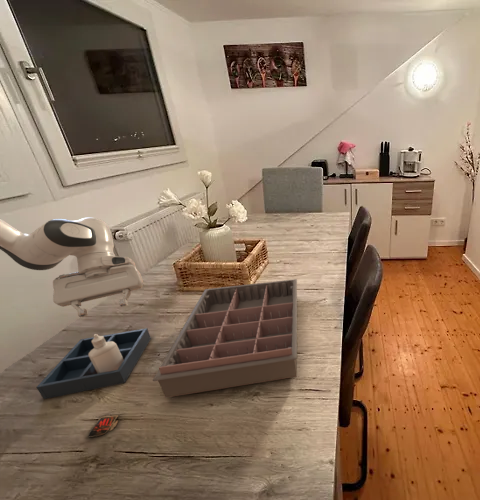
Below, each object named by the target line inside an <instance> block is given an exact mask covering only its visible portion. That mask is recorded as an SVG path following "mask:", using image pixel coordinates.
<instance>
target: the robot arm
mask: <svg viewBox="0 0 480 500" xmlns="http://www.w3.org/2000/svg"><path fill="white" fill-rule="evenodd" d="M112 233H113V232H112V231H111V228H110V226H109V225H108V223H107V222H105V221H104V220H103V219H99V218H96V217H82V218H80V219H77V220H76V219H75V220H70V219H65V218H54V219H50V220H48V221H47V222H45V223H44V224H42V225H41V226H39V227H37V228H36V229H35V230H34V231H32V232H31V233H30V234H28V233H25V232H22V231H21V230H18V229H17V228H16V227H14V226H13V225H11V224H9V223H8V222H6V221H5V220H4V219H2V218H0V251H2V252H4V253H5V254H6V255H7V256H8V257H9V258H11V259H12V260H13V261H14V262H15V263H16V264H18V265H20V266H21V267H23V268H26V269H28V270H33V271H46V270H50V269H53V268H56V267H57V266H58V265H59V264H60V263H61V262H62V261H64V260H65V259H66V258H68V257H69V256H73V257H76V262H77V270H78V271H74V272H70V273H66V274H65V273H63V274H60V275H58V276H57V277H56V278H54V279H53V280H52V288H53V294H52V301H53V304H55V305H57V306H59V307H62V308H64V307H68V306H71V307H72V308H73V309H75V310H76V311H77V316H78V317H79V318H83V317H87V316H88V309H85V308H81V306H82V303H86V302H89V301H93V300H94V301H95V300H97V299H98V300H99V299H102V298H106V297H111V296H115V295H119V294H123V297H122V299H118V301H119V307H120V308H121V307H126V306H128V305H129V303H128V300H129V298H130V296H131V294H132V293H131V292H132V291H136V290H141V289H142V288H143V287H144V280H143V277H142V274H141V272H140V271H139V270H138V268H137V265H136V263H135V261H134V260H133V259H131V258H130V257H129V256H116V254H115V252H114V247H115V244H114V238H113V234H112Z"/></svg>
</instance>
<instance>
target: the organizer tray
mask: <svg viewBox="0 0 480 500" xmlns="http://www.w3.org/2000/svg"><path fill="white" fill-rule="evenodd" d="M297 377H298V279H297V278H294V279H285V280H276V281H275V280H274V281H267V282H258V283H250V284H249V283H248V284H241V285H240V284H239V285H230V286H222V287H213V288H205V289H204V290H203V292H202V294H201V295H200V298H199V299H198V301H197V303H196V304H195V306H194V308H193V310H192V311H191V313H190V315H189V316H188V318H187V320H186V321H185V324H184V325H183V327H182V328H181V330H180V332H179V334H178V336H177V337H176V339H175V340H174V342H173V344H172V346H171V347H170V349H169V351H168V353H167V354H166V355H165V357H164V360H163V361H162V363H161V364H160V366H159V367H158V370H157V371H156V373H155V374H154V377H153V378H152V381H153V382H158V383H159V387H160V388H161V390H162V393H163V396H164V398H165V399H166V398H167V399H168V398H172V397H179V396H184V395H185V396H186V395H191V394H197V393H203V392H211V391H216V390H221V391H223V390H224V389H228V388H234V387H241V386H247V385H252V384H253V385H255V384H259V383H266V382H272V381H277V380H283V379H285V380H286V379H291V378H297ZM222 389H223V390H222Z"/></svg>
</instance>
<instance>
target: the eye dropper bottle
mask: <svg viewBox="0 0 480 500" xmlns="http://www.w3.org/2000/svg"><path fill="white" fill-rule="evenodd" d="M103 336H104V335H99V334H98V333H94V334H93V337H94V339H93V340H92V341H91V342H92V344H93V346H94V348H93V349H92V350H91V351H90V352H89V354H88V355H89V358H90V360H91V362H92V364H93V366H94V367H95V369H96V371H97V373H103V372H109V371H114V370H118V368H119V367H120V365H121V364H122V362H123V361H124V359H123V357H122V355H121V353H120V351H119V348H118V346H117V345H116V343H115V342H113V341H110V342H106V341H105V339H104V337H103Z"/></svg>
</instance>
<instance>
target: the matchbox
mask: <svg viewBox="0 0 480 500" xmlns="http://www.w3.org/2000/svg"><path fill="white" fill-rule="evenodd" d="M117 418H118V414H116V415H109V414H108V415H103V416H101V417H99V418H98V420H97V421H96V422H95V424H94V425H93V427H92V428H91V429H90V430H89V433H88V436H87V437H88V438H95V437H99V436H103V435H105V434H106V433H107V432H110V431H113V430H114V428H116V426H117V424H118V423H119V420H117Z"/></svg>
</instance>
